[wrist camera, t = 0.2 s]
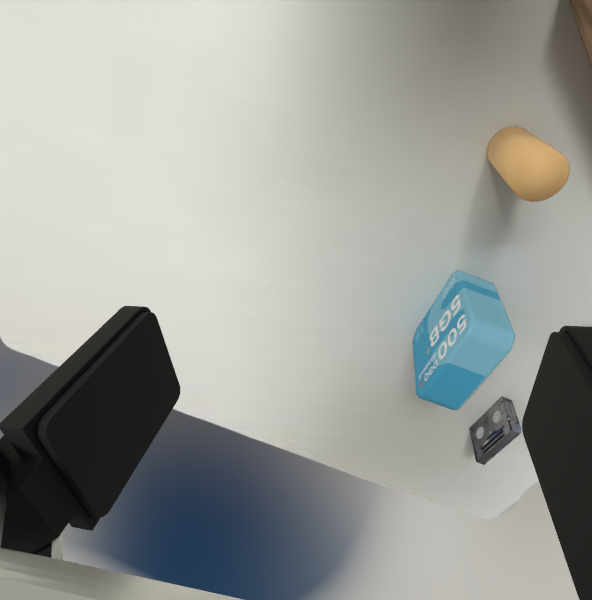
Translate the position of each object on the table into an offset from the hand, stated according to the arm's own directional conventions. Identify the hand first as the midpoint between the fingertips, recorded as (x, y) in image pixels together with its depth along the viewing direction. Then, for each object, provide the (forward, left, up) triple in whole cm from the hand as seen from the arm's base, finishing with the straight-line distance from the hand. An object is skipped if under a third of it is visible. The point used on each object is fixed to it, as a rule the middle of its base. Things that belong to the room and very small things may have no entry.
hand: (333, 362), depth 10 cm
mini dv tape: (+44, -7, -37) cm, 58 cm away
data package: (+24, -4, -37) cm, 44 cm away
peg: (+9, +9, -37) cm, 39 cm away
